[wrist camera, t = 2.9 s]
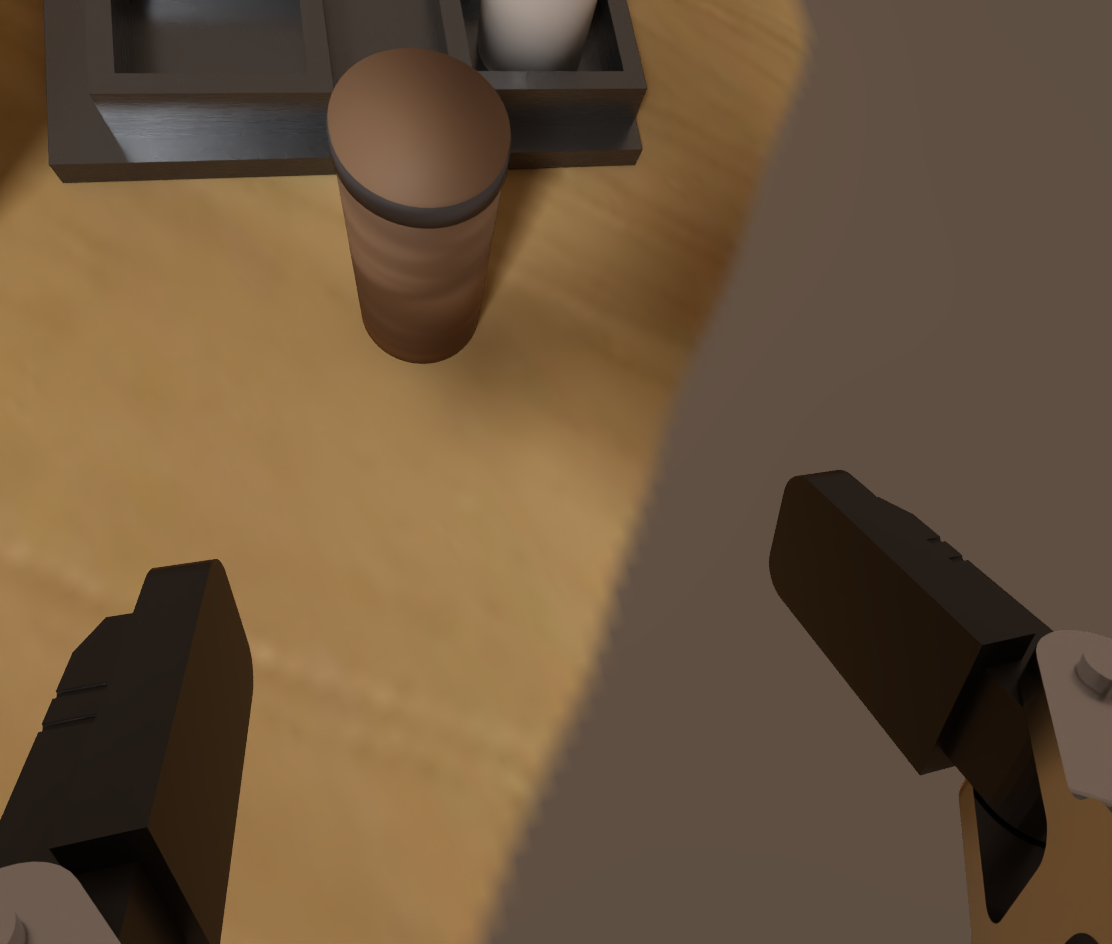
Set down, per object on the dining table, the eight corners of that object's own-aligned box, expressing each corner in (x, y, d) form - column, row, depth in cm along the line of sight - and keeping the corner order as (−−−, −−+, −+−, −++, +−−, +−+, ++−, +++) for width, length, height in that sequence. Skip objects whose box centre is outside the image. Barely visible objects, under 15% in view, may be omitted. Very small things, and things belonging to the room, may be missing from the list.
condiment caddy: (63, 182, 25) (16, 123, 22) (54, -43, 27) (11, -124, 24) (634, 165, 30) (658, 114, 27) (592, -25, 32) (609, -90, 29)
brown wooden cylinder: (367, 370, 25) (336, 208, 16) (353, 260, 26) (316, 45, 17) (487, 359, 26) (526, 201, 17) (470, 253, 27) (497, 46, 18)
